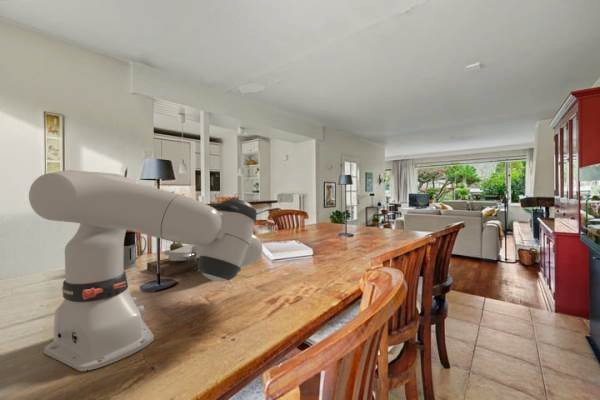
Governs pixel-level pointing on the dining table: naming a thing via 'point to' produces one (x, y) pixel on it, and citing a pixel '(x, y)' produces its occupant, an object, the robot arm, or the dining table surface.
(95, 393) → the dining table surface
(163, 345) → the dining table surface
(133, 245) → the glass holder
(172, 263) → the cork
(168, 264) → the walnut collar
